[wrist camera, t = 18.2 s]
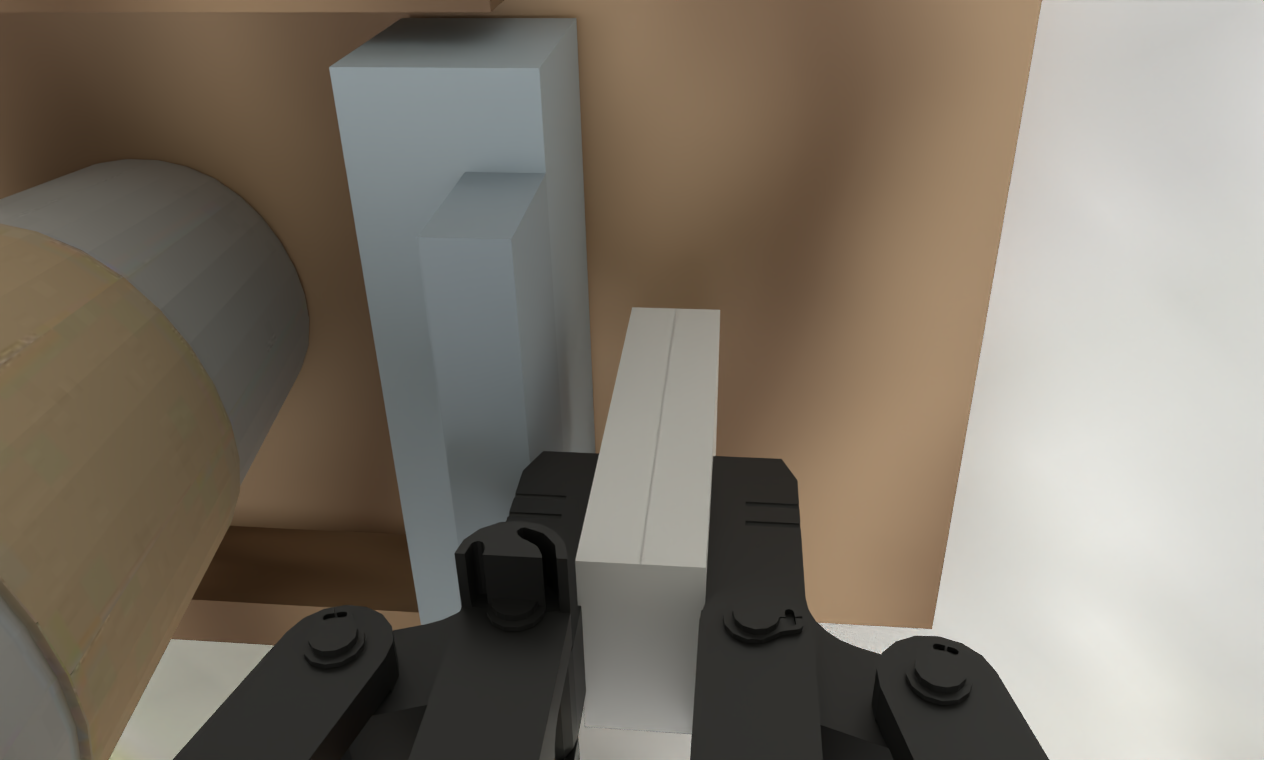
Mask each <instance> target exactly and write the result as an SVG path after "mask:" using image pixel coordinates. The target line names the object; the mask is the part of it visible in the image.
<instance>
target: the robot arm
mask: <svg viewBox="0 0 1264 760" xmlns="http://www.w3.org/2000/svg"><path fill="white" fill-rule="evenodd" d="M719 335H720V310H710V309H676V308H641V307H632V310H631V315H630V319H629V324H628V328H627V333H626V337H625V342H624V346H623V350H622V355H621V359H620V364H619V368H618V373H617V377H616V382H615V386H614V390H613V395H612V399H611V404H610V408H609V413H608V417H607V422H606V426H605V430H604V435H603V439H602V444H601V448H600V453H579V452H555V451H543V452H542V453H541V454H540V455H539V456H537V457H536V458H535V459H534V460H533V461H532V462H531V463H530V464H529V465H528V466H527V467H526V468H525V469H524V470H523V472H522V475H521V478H520V481H519V484H518V487H517V490H516V493H515V498H514V499H513V502H512V505H511V508H510V511H509V517H507V520H506V522H499V523H496V524H493V525H490V526H487V527H484V528H480V529H479V530H477V531H476V532H474V533H473V534H471V535H470V536H468V537H467V538H465V539H464V540H463V541H462V543H461V544H460V546H459V547H458V549H457V550H456V551H455V553H454V555H455V562H456V570H457V577H458V585H459V592H460V600H461V610H460V612H458V613H456V614H454V615H452V616H450V617H447V618H445V619H443V620H440V621H436V622H432V623H429V624H425V625H419V626H414V627H408V628H403V629H398V630H392V626H391V624H390V623H389V622H388V621H387V619H386V618H385V617H384V616H383V614H381V613H379V612H377V611H375V610H372V609H370V608H368V607H364V606H353V605H342V606H337V607H331V608H326V609H322V610H320V611H318V612H316V613H314V614H311V615H309V616H307V617H305V618H303V619H302V620H300V621H299V622H298V623H297V624H295V625H294V626H293V627H292V628H291V629H289V630H288V631H287V632H286V633H285V634H284V635H283V636H282V638H281V639H280V640H279V641H278V642H277V643H276V644H275V645H274V647H273V648H272V649H271V650H270V651H269V652H268V653H267V654H266V656H265V657H264V658H263V659H262V660H261V661H260V662H259V663H258V664H257V666H256V667H255V668H254V669H253V670H252V671H251V672H250V673H249V675H248V676H247V677H246V678H245V679H244V680H243V681H242V682H241V684H240V685H239V686H238V687H237V688H236V689H235V690H234V691H233V693H232V694H231V695H230V696H229V697H228V698H227V699H226V700H225V701H224V703H223V704H222V705H221V706H220V707H219V708H218V709H217V710H216V712H215V713H214V714H213V715H212V716H211V717H210V718H209V719H208V721H207V722H206V723H205V724H204V725H203V726H202V727H201V728H200V730H199V731H198V732H197V733H196V734H195V735H194V736H193V737H192V739H191V740H190V741H189V742H188V743H187V744H186V745H185V746H184V747H183V749H182V750H181V751H180V752H179V753H178V754H177V755H176V756H175V758H174V759H173V760H580V758H579V742H578V734H579V728H580V723H581V717H582V711H583V706H584V724H585V727H594V728H609V729H624V730H638V731H653V732H668V733H682V734H692V740H691V756H690V760H1049V759H1048V757H1047V755H1046V754H1045V752H1044V750H1043V749H1042V747H1041V745H1040V744H1039V742H1038V740H1037V739H1036V737H1035V735H1034V734H1033V732H1032V730H1031V729H1030V727H1029V725H1028V724H1027V722H1026V720H1025V719H1024V717H1023V715H1022V714H1021V712H1020V710H1019V709H1018V707H1017V705H1016V704H1015V702H1014V700H1013V699H1012V697H1011V695H1010V694H1009V692H1008V690H1007V689H1006V687H1005V685H1004V684H1003V682H1002V680H1001V679H1000V677H999V675H998V674H997V672H996V671H995V670H994V669H993V668H992V666H991V665H990V664H989V663H988V662H987V661H986V660H985V658H984V657H983V656H982V655H980V654H978V653H977V652H975V651H973V650H972V649H970V648H969V647H967V646H965V645H964V644H962V643H959V642H955V641H952V640H949V639H945V638H942V637H938V636H914V637H910V638H907V639H903V640H900V641H896V642H895V643H894V644H892V645H891V646H890V647H889V648H888V649H886V650H885V651H884V652H883V653H882V655H881V654H877V653H874V652H871V651H868V650H865V649H861V648H858V647H856V646H853V645H851V644H848V643H846V642H843V641H841V640H839V639H838V638H836V637H834V636H833V635H831V634H830V633H828V632H827V631H826V630H824V629H823V628H822V627H821V626H820V625H819V624H818V623H817V622H816V621H815V619H814V617H813V616H812V614H811V613H810V611H809V609H808V605H807V601H806V596H805V582H804V567H803V553H802V538H801V528H800V509H799V495H798V480H797V479H796V478H795V476H794V475H793V474H792V472H791V471H790V470H789V468H788V467H787V465H786V464H785V463H784V461H783V460H782V459H774V458H751V457H727V456H716V434H717V401H718V368H719Z"/></svg>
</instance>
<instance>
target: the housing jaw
mask: <svg viewBox="0 0 1264 760" xmlns="http://www.w3.org/2000/svg"><path fill="white" fill-rule="evenodd" d="M329 70H330V76H331V82H332V88H333V94H334V100H335V106H336V112H337V118H338V124H339V130H340V137H341V143H342V149H343V155H344V161H345V167H346V173H347V179H348V185H349V191H350V197H351V203H352V209H353V215H354V221H355V228H356V234H357V240H358V246H359V252H360V258H361V264H362V270H363V276H364V282H365V288H366V294H367V300H368V306H369V312H370V319H371V325H372V331H373V337H374V343H375V349H376V355H377V361H378V367H379V373H380V379H381V385H382V391H383V397H384V403H385V409H386V416H387V422H388V428H389V434H390V440H391V446H392V452H393V458H394V464H395V470H396V476H397V482H398V488H399V494H400V500H401V507H402V513H403V519H404V525H405V531H406V537H407V543H408V549H409V555H410V561H411V567H412V573H413V579H414V585H415V591H416V598H417V604H418V610H419V616H420V622H421V625H425V624H429V623H432V622H436V621H440V620H443V619H445V618H447V617H450V616H452V615H454V614H456V613H458V612H460V610H461V600H460V592H459V585H458V577H457V570H456V562H455V555H454V553H455V551H456V550H457V549H458V547H459V546H460V544H461V543H462V541H463V540H464V539H465V538H467V537H468V536H470V535H471V534H473V533H474V532H476V531H477V530H479V529H480V528H484V527H487V526H490V525H493V524H496V523H499V522H506V520H507V517H509V511H510V508H511V505H512V502H513V499H514V498H515V493H516V490H517V487H518V484H519V481H520V478H521V475H522V472H523V470H524V469H525V468H526V467H527V466H528V465H529V464H530V463H531V462H532V461H533V460H534V459H535V458H536V457H537V456H539V455H540V454H541V453H542V452H543V451H555V452H579V453H595V430H594V407H593V385H592V362H591V339H590V316H589V294H588V271H587V248H586V226H585V203H584V180H583V157H582V134H581V112H580V89H579V66H578V43H577V21H576V18H401V19H400V20H398V21H397V22H395V23H394V24H392V25H391V26H389V27H388V28H386V29H385V30H383V31H382V32H380V33H379V34H377V35H376V36H375V37H373V38H372V39H370V40H369V41H367V42H366V43H364V44H363V45H361V46H360V47H358V48H357V49H355V50H354V51H352V52H351V53H349V54H348V55H346V56H345V57H343V58H342V59H340V60H339V61H337V62H336V63H334V64H333V65H331V66H330V67H329Z"/></svg>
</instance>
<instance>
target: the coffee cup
mask: <svg viewBox="0 0 1264 760" xmlns="http://www.w3.org/2000/svg"><path fill="white" fill-rule="evenodd" d="M308 346H309V316H308V310H307V304H306V299H305V294H304V291H303V288H302V286H301V283H300V280H299V277H298V275H297V272H296V269H295V267H294V265H293V263H292V262H291V260H290V258H289V256H288V254H287V252H286V250H285V249H284V247H283V245H282V243H281V242H280V240H279V239H278V238H277V236H276V235H275V234H274V232H273V231H272V230H271V228H270V227H269V226H268V224H267V223H266V222H265V220H264V219H263V218H262V217H261V216H260V215H259V214H258V213H257V212H256V211H255V210H254V209H253V208H252V207H251V206H250V205H249V204H248V203H247V202H246V201H245V200H244V199H243V198H242V197H241V196H240V195H238V194H237V193H235V192H234V191H232V190H231V189H229V188H228V187H226V186H225V185H223V184H222V183H221V182H219V181H218V180H216V179H215V178H212V177H210V176H208V175H205V174H203V173H201V172H198V171H196V170H194V169H191V168H189V167H187V166H182V165H178V164H173V163H169V162H164V161H160V160H141V159H124V160H117V161H110V162H104V163H98V164H94V165H92V166H89V167H86V168H83V169H81V170H78V171H75V172H72V173H70V174H67V175H64V176H62V177H59V178H56V179H54V180H51V181H48V182H46V183H43V184H40V185H38V186H35V187H32V188H30V189H27V190H24V191H21V192H19V193H16V194H13V195H11V196H8V197H5V198H3V199H0V760H109V758H110V756H111V754H112V752H113V750H114V748H115V746H116V744H117V742H118V741H119V739H120V737H121V735H122V733H123V731H124V729H125V727H126V725H127V723H128V721H129V719H130V717H131V715H132V713H133V712H134V710H135V708H136V706H137V704H138V702H139V700H140V698H141V696H142V694H143V692H144V690H145V688H146V686H147V684H148V683H149V681H150V679H151V677H152V675H153V673H154V671H155V669H156V667H157V665H158V663H159V661H160V659H161V657H162V655H163V654H164V652H165V650H166V648H167V646H168V644H169V642H170V640H171V638H172V636H173V634H174V632H175V630H176V628H177V627H178V625H179V623H180V621H181V619H182V617H183V615H184V613H185V611H186V609H187V607H188V605H189V603H190V601H191V599H192V598H193V596H194V594H195V592H196V590H197V588H198V586H199V584H200V582H201V580H202V578H203V576H204V574H205V572H206V570H207V569H208V567H209V565H210V563H211V561H212V559H213V557H214V555H215V553H216V551H217V549H218V547H219V545H220V543H221V541H222V540H223V538H224V536H225V534H226V532H227V530H228V528H229V526H230V524H231V521H232V518H233V515H234V511H235V508H236V504H237V500H238V497H239V493H240V486H241V484H242V482H243V480H244V478H245V476H246V474H247V472H248V470H249V468H250V466H251V465H252V463H253V461H254V459H255V457H256V455H257V453H258V451H259V449H260V447H261V445H262V443H263V442H264V440H265V438H266V436H267V434H268V432H269V430H270V428H271V426H272V424H273V422H274V420H275V419H276V417H277V415H278V413H279V411H280V409H281V407H282V405H283V403H284V401H285V399H286V397H287V396H288V394H289V392H290V390H291V388H292V386H293V384H294V382H295V380H296V378H297V376H298V374H299V373H300V371H301V368H302V365H303V362H304V359H305V355H306V352H307V349H308Z"/></svg>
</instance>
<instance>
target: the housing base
mask: <svg viewBox="0 0 1264 760" xmlns="http://www.w3.org/2000/svg"><path fill="white" fill-rule="evenodd" d="M1041 2H1042V0H0V199H3V198H5V197H8V196H11V195H13V194H16V193H19V192H21V191H24V190H27V189H30V188H32V187H35V186H38V185H40V184H43V183H46V182H48V181H51V180H54V179H56V178H59V177H62V176H64V175H67V174H70V173H72V172H75V171H78V170H81V169H83V168H86V167H89V166H92V165H94V164H98V163H104V162H110V161H117V160H124V159H141V160H160V161H164V162H169V163H173V164H178V165H182V166H187V167H189V168H191V169H194V170H196V171H198V172H201V173H203V174H205V175H208V176H210V177H212V178H215V179H216V180H218V181H219V182H221V183H222V184H223V185H225V186H226V187H228V188H229V189H231V190H232V191H234V192H235V193H237V194H238V195H240V196H241V197H242V198H243V199H244V200H245V201H246V202H247V203H248V204H249V205H250V206H251V207H252V208H253V209H254V210H255V211H256V212H257V213H258V214H259V215H260V216H261V217H262V218H263V219H264V220H265V222H266V223H267V224H268V226H269V227H270V228H271V230H272V231H273V232H274V234H275V235H276V236H277V238H278V239H279V240H280V242H281V243H282V245H283V247H284V249H285V250H286V252H287V254H288V256H289V258H290V260H291V262H292V263H293V265H294V267H295V269H296V272H297V275H298V277H299V280H300V283H301V286H302V288H303V291H304V294H305V299H306V304H307V310H308V316H309V346H308V349H307V352H306V355H305V359H304V362H303V365H302V368H301V371H300V373H299V374H298V376H297V378H296V380H295V382H294V384H293V386H292V388H291V390H290V392H289V394H288V396H287V397H286V399H285V401H284V403H283V405H282V407H281V409H280V411H279V413H278V415H277V417H276V419H275V420H274V422H273V424H272V426H271V428H270V430H269V432H268V434H267V436H266V438H265V440H264V442H263V443H262V445H261V447H260V449H259V451H258V453H257V455H256V457H255V459H254V461H253V463H252V465H251V466H250V468H249V470H248V472H247V474H246V476H245V478H244V480H243V482H242V484H241V486H240V493H239V497H238V500H237V504H236V508H235V511H234V515H233V518H232V521H231V524H230V526H229V528H228V530H227V532H226V534H225V536H224V538H223V540H222V541H221V543H220V545H219V547H218V549H217V551H216V553H215V555H214V557H213V559H212V561H211V563H210V565H209V567H208V569H207V570H206V572H205V574H204V576H203V578H202V580H201V582H200V584H199V586H198V588H197V590H196V592H195V594H194V596H193V598H192V599H191V601H190V603H189V605H188V607H187V609H186V611H185V613H184V615H183V617H182V619H181V621H180V623H179V625H178V627H177V628H176V630H175V632H174V634H173V636H172V638H171V639H182V640H198V641H215V642H231V643H247V644H264V645H275V644H276V643H277V642H278V641H279V640H280V639H281V638H282V636H283V635H284V634H285V633H286V632H287V631H288V630H289V629H291V628H292V627H293V626H294V625H295V624H297V623H298V622H299V621H300V620H302V619H303V618H305V617H307V616H309V615H311V614H314V613H316V612H318V611H320V610H322V609H326V608H331V607H337V606H342V605H353V606H364V607H368V608H370V609H372V610H375V611H377V612H379V613H381V614H383V616H384V617H385V618H386V619H387V621H388V622H389V623H390V624H391V626H392V630H398V629H403V628H408V627H414V626H419V625H421V622H420V616H419V610H418V604H417V598H416V591H415V585H414V579H413V573H412V567H411V561H410V555H409V549H408V543H407V537H406V531H405V525H404V519H403V513H402V507H401V500H400V494H399V488H398V482H397V476H396V470H395V464H394V458H393V452H392V446H391V440H390V434H389V428H388V422H387V416H386V409H385V403H384V397H383V391H382V385H381V379H380V373H379V367H378V361H377V355H376V349H375V343H374V337H373V331H372V325H371V319H370V312H369V306H368V300H367V294H366V288H365V282H364V276H363V270H362V264H361V258H360V252H359V246H358V240H357V234H356V228H355V221H354V215H353V209H352V203H351V197H350V191H349V185H348V179H347V173H346V167H345V161H344V155H343V149H342V143H341V137H340V130H339V124H338V118H337V112H336V106H335V100H334V94H333V88H332V82H331V76H330V70H329V67H330V66H331V65H333V64H334V63H336V62H337V61H339V60H340V59H342V58H343V57H345V56H346V55H348V54H349V53H351V52H352V51H354V50H355V49H357V48H358V47H360V46H361V45H363V44H364V43H366V42H367V41H369V40H370V39H372V38H373V37H375V36H376V35H377V34H379V33H380V32H382V31H383V30H385V29H386V28H388V27H389V26H391V25H392V24H394V23H395V22H397V21H398V20H400V19H401V18H576V21H577V43H578V66H579V89H580V112H581V134H582V157H583V180H584V203H585V226H586V248H587V271H588V294H589V316H590V339H591V362H592V385H593V407H594V430H595V453H600V448H601V444H602V439H603V435H604V430H605V426H606V422H607V417H608V413H609V408H610V404H611V399H612V395H613V390H614V386H615V382H616V377H617V373H618V368H619V364H620V359H621V355H622V350H623V346H624V342H625V337H626V333H627V328H628V324H629V319H630V315H631V310H632V307H641V308H676V309H710V310H720V335H719V368H718V401H717V434H716V456H727V457H751V458H774V459H782V460H783V461H784V463H785V464H786V465H787V467H788V468H789V470H790V471H791V472H792V474H793V475H794V476H795V478H796V479H797V480H798V495H799V509H800V528H801V538H802V553H803V567H804V582H805V596H806V601H807V605H808V609H809V611H810V613H811V614H812V616H813V617H814V619H815V621H816V622H818V623H835V624H853V625H871V626H889V627H907V628H924V629H932V625H933V620H934V614H935V608H936V603H937V597H938V591H939V585H940V580H941V574H942V568H943V562H944V557H945V551H946V545H947V540H948V534H949V528H950V522H951V517H952V511H953V505H954V500H955V494H956V488H957V482H958V477H959V471H960V465H961V460H962V454H963V448H964V442H965V437H966V431H967V425H968V420H969V414H970V408H971V402H972V397H973V391H974V385H975V380H976V374H977V368H978V362H979V357H980V351H981V345H982V340H983V334H984V328H985V322H986V317H987V311H988V305H989V300H990V294H991V288H992V282H993V277H994V271H995V265H996V259H997V254H998V248H999V242H1000V237H1001V231H1002V225H1003V219H1004V214H1005V208H1006V202H1007V197H1008V191H1009V185H1010V179H1011V174H1012V168H1013V162H1014V157H1015V151H1016V145H1017V139H1018V134H1019V128H1020V122H1021V117H1022V111H1023V105H1024V99H1025V94H1026V88H1027V82H1028V77H1029V71H1030V65H1031V59H1032V54H1033V48H1034V42H1035V37H1036V31H1037V25H1038V19H1039V14H1040V8H1041Z"/></svg>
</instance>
